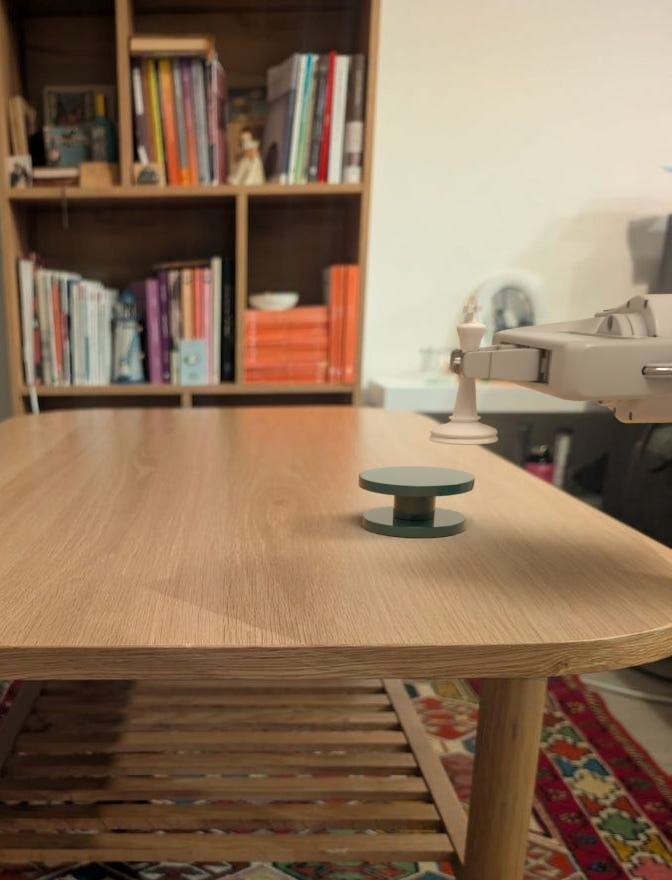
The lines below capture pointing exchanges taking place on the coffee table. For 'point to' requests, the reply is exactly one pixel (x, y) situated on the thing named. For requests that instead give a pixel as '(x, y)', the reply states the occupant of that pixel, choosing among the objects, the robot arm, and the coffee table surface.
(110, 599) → the coffee table surface
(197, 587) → the coffee table surface
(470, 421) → the chess piece
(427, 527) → the stand
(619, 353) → the robot arm
